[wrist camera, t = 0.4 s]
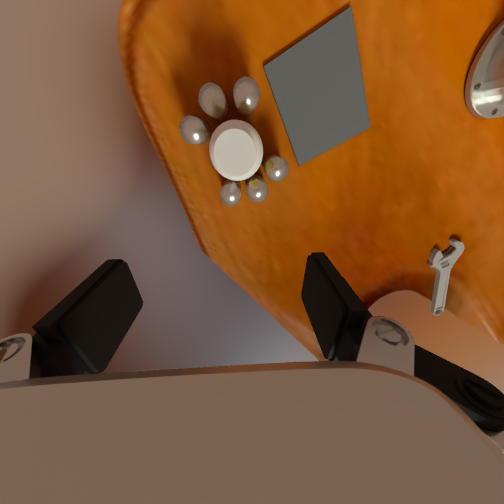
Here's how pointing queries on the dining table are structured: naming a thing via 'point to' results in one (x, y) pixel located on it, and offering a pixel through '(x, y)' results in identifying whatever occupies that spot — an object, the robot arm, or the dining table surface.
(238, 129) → the supplement bottle
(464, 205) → the dining table surface
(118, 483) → the robot arm
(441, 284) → the adjustable wrench
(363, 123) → the rubber mat
